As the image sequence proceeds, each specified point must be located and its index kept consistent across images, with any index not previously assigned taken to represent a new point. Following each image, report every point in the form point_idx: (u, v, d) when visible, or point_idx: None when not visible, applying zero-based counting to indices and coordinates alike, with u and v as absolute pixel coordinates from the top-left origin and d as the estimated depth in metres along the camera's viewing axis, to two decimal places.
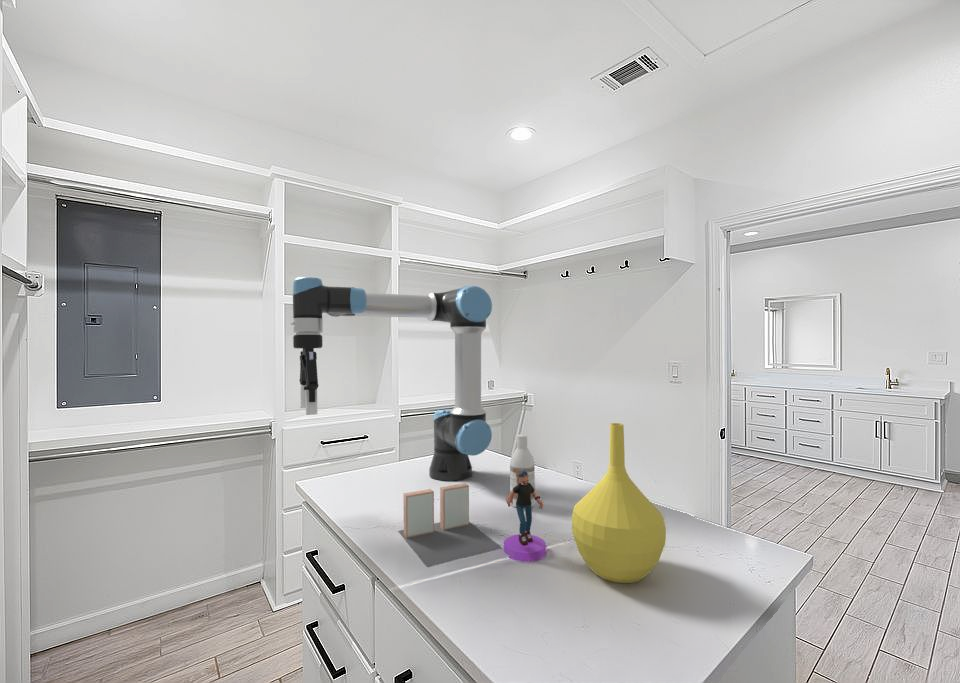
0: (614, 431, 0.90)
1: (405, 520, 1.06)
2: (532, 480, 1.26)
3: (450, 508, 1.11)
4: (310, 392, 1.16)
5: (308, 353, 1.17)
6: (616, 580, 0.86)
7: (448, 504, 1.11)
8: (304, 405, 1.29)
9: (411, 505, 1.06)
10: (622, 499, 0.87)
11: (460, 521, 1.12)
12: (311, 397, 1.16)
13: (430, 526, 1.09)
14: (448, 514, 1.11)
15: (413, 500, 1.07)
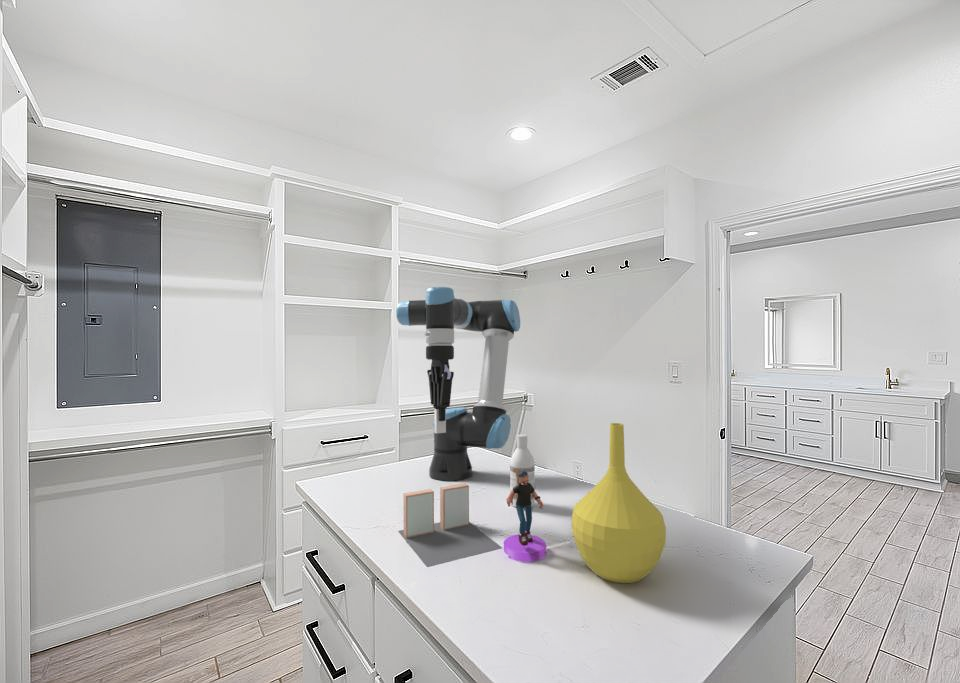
0: (614, 431, 0.90)
1: (405, 520, 1.06)
2: (532, 480, 1.26)
3: (450, 508, 1.11)
4: (441, 411, 1.19)
5: (446, 374, 1.15)
6: (616, 580, 0.86)
7: (448, 504, 1.11)
8: None
9: (411, 505, 1.06)
10: (622, 499, 0.87)
11: (460, 521, 1.12)
12: (442, 416, 1.19)
13: (430, 526, 1.09)
14: (448, 514, 1.11)
15: (413, 500, 1.07)
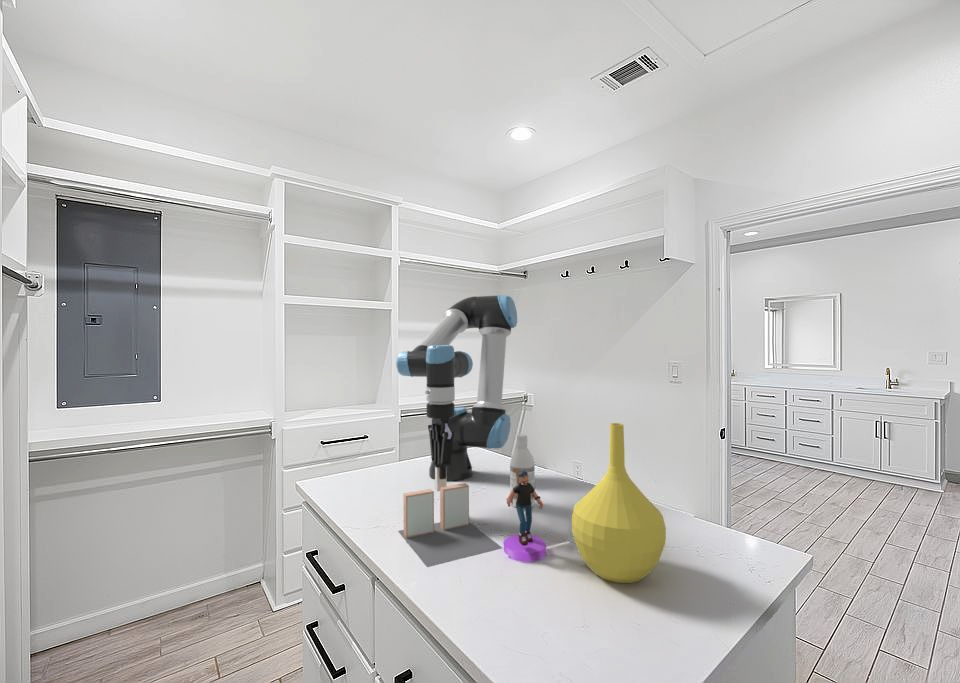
0: (614, 431, 0.90)
1: (405, 520, 1.06)
2: (532, 480, 1.26)
3: (450, 508, 1.11)
4: (442, 469, 1.19)
5: (447, 435, 1.15)
6: (616, 580, 0.86)
7: (448, 504, 1.11)
8: None
9: (411, 505, 1.06)
10: (622, 499, 0.87)
11: (460, 521, 1.12)
12: (442, 474, 1.19)
13: (430, 526, 1.09)
14: (448, 514, 1.11)
15: (413, 500, 1.07)
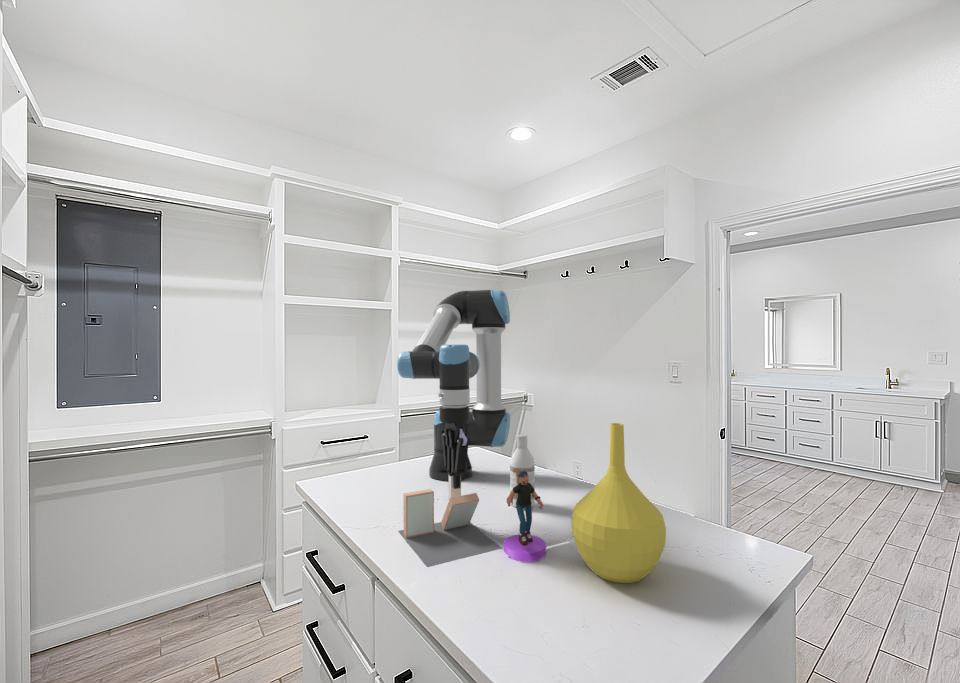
0: (614, 431, 0.90)
1: (405, 520, 1.06)
2: (532, 480, 1.26)
3: (455, 516, 1.08)
4: (456, 478, 1.10)
5: (462, 441, 1.06)
6: (616, 580, 0.86)
7: (454, 514, 1.08)
8: None
9: (411, 505, 1.06)
10: (622, 499, 0.87)
11: (461, 523, 1.12)
12: (457, 483, 1.10)
13: (430, 526, 1.09)
14: (452, 520, 1.09)
15: (413, 500, 1.07)
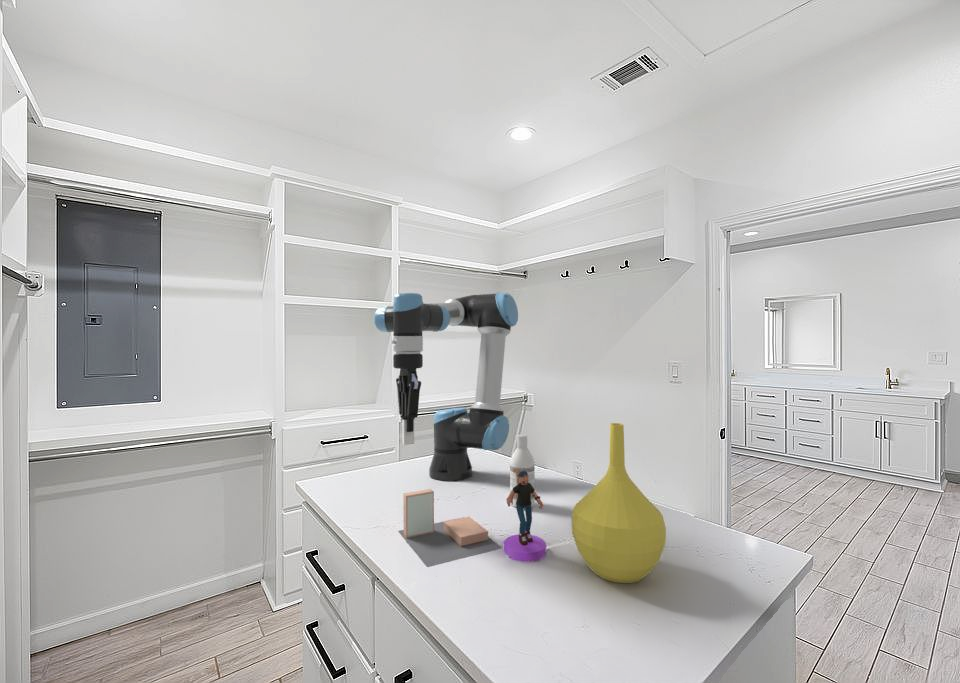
0: (614, 431, 0.90)
1: (405, 520, 1.06)
2: (532, 480, 1.26)
3: None
4: (409, 422, 1.14)
5: (413, 384, 1.11)
6: (616, 580, 0.86)
7: None
8: None
9: (411, 505, 1.06)
10: (622, 499, 0.87)
11: None
12: (409, 427, 1.15)
13: (430, 526, 1.09)
14: None
15: (413, 500, 1.07)
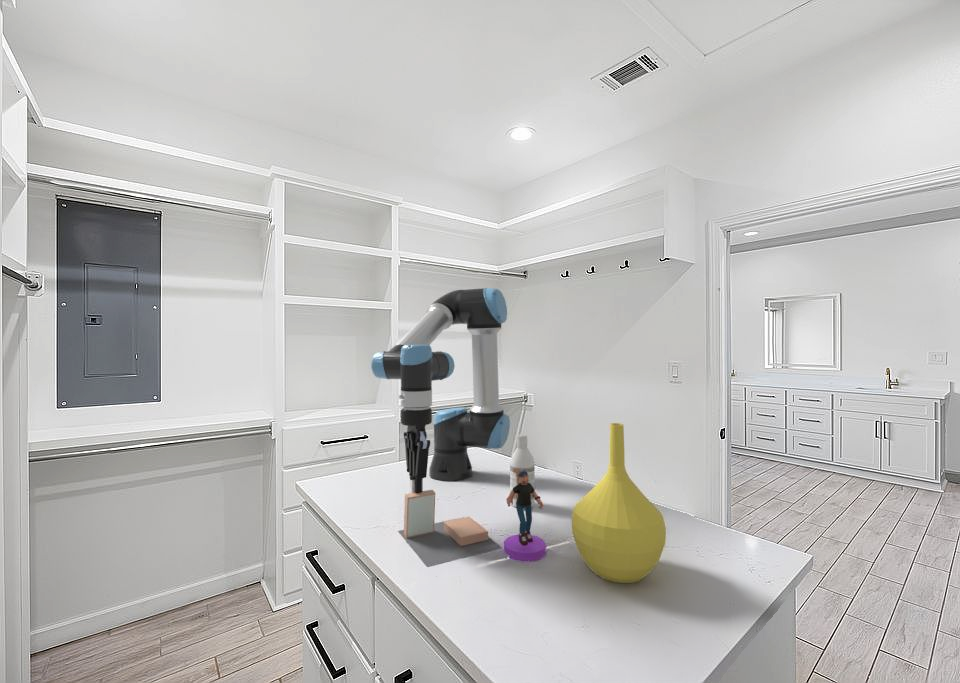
0: (614, 431, 0.90)
1: (406, 520, 1.06)
2: (532, 480, 1.26)
3: None
4: (417, 482, 1.07)
5: (422, 444, 1.03)
6: (616, 580, 0.86)
7: None
8: None
9: (412, 506, 1.06)
10: (622, 499, 0.87)
11: None
12: (418, 487, 1.07)
13: (431, 527, 1.08)
14: None
15: (414, 502, 1.06)
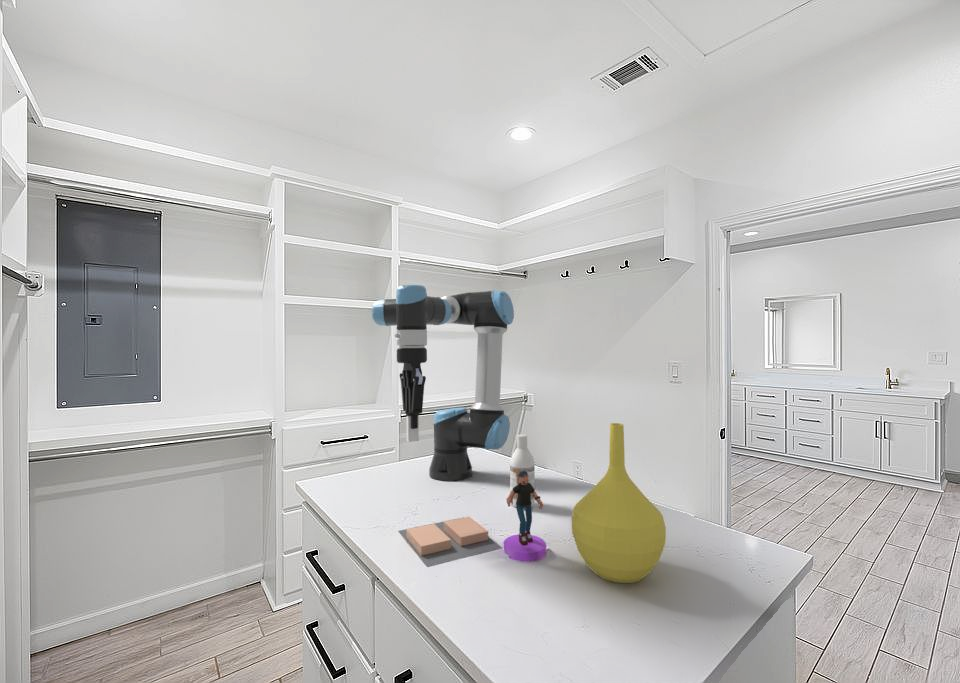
0: (614, 431, 0.90)
1: (412, 541, 1.02)
2: (532, 480, 1.26)
3: None
4: (413, 418, 1.11)
5: (418, 379, 1.07)
6: (616, 580, 0.86)
7: None
8: None
9: None
10: (622, 499, 0.87)
11: None
12: (414, 423, 1.11)
13: None
14: None
15: None
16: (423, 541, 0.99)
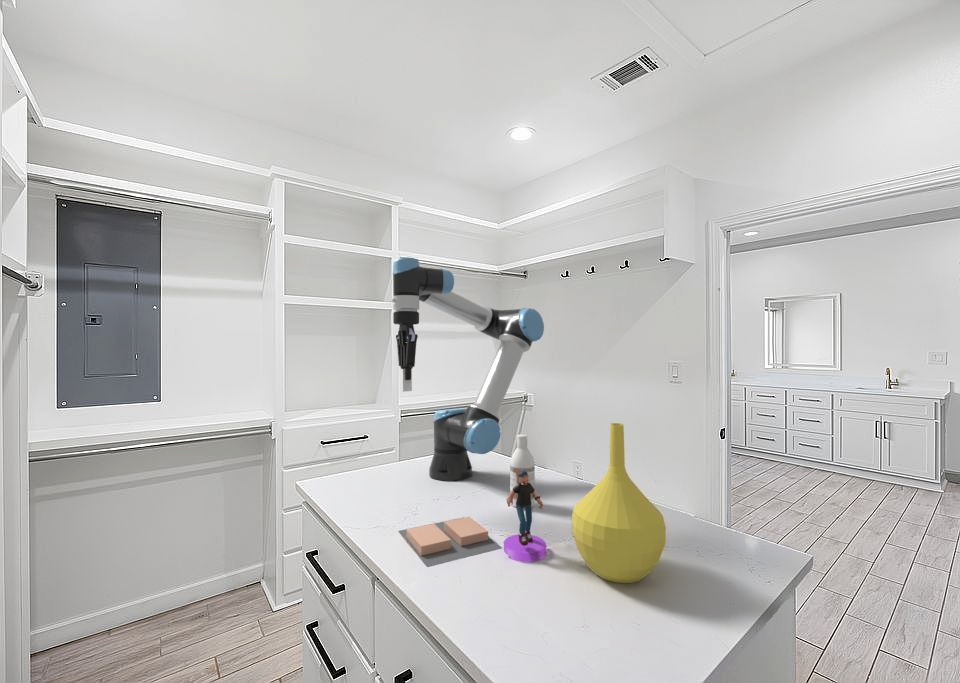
0: (614, 431, 0.90)
1: (412, 541, 1.02)
2: (532, 480, 1.26)
3: None
4: (407, 371, 1.30)
5: (411, 336, 1.26)
6: (616, 580, 0.86)
7: None
8: None
9: None
10: (622, 499, 0.87)
11: None
12: (407, 375, 1.30)
13: None
14: None
15: None
16: (423, 541, 0.99)
